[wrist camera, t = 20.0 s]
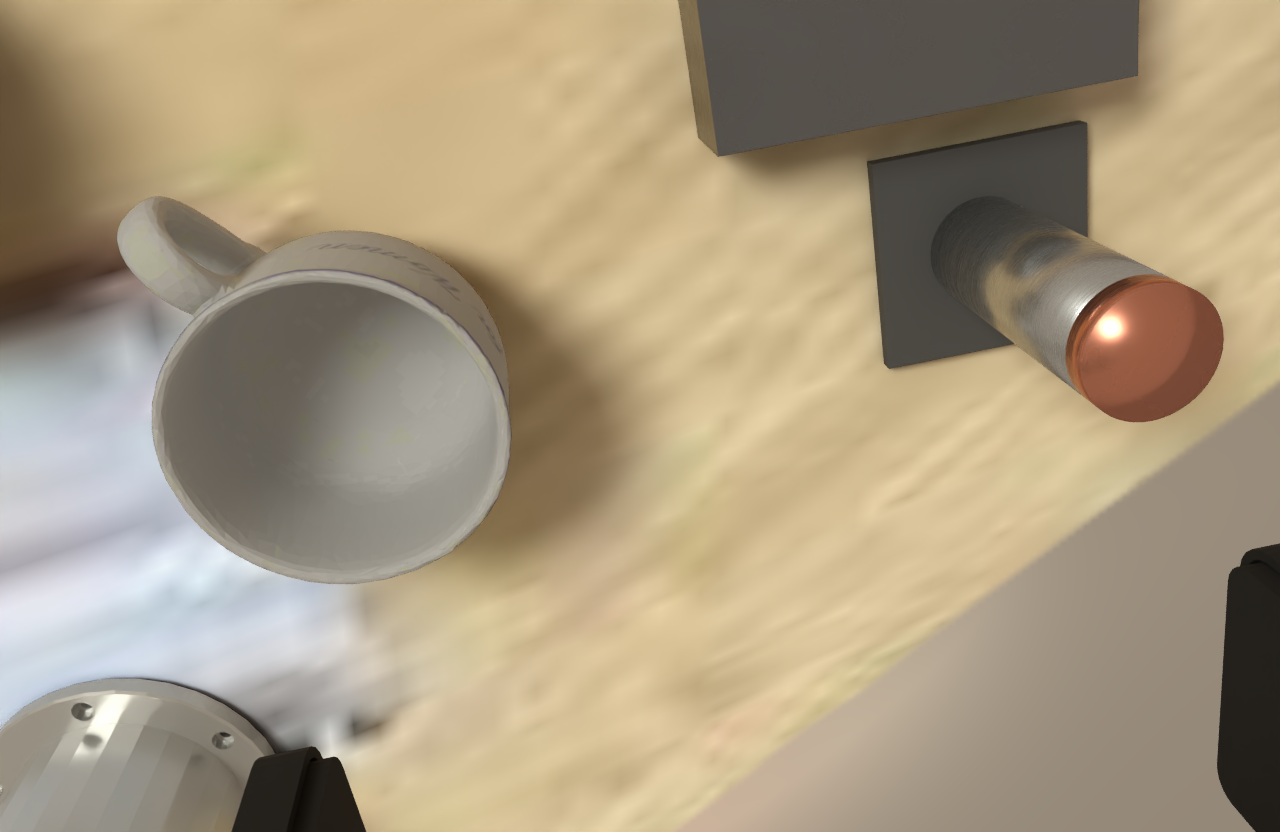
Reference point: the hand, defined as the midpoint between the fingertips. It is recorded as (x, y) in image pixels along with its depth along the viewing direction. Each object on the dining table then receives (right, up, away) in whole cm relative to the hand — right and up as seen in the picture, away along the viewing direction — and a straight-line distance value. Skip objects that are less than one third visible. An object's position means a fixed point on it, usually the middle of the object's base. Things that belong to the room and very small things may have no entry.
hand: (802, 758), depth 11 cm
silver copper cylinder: (+11, +10, +30) cm, 33 cm away
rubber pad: (+11, +10, +30) cm, 34 cm away
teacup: (-13, +7, +29) cm, 32 cm away
